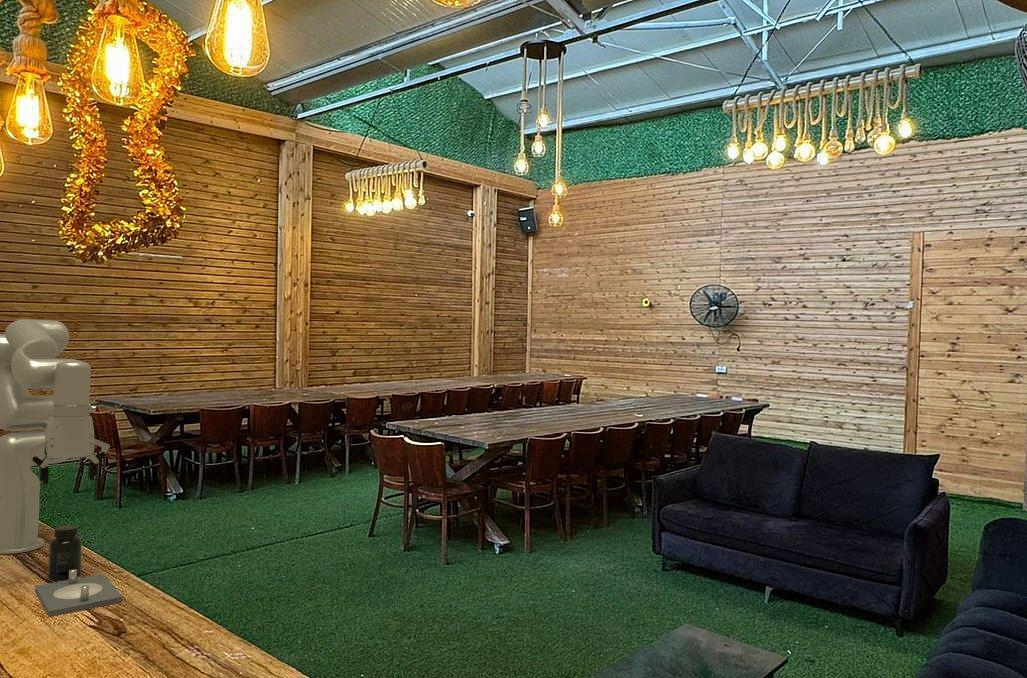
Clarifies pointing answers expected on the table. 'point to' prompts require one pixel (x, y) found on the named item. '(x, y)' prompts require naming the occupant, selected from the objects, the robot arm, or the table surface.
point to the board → (77, 594)
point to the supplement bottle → (64, 553)
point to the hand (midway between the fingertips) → (68, 481)
